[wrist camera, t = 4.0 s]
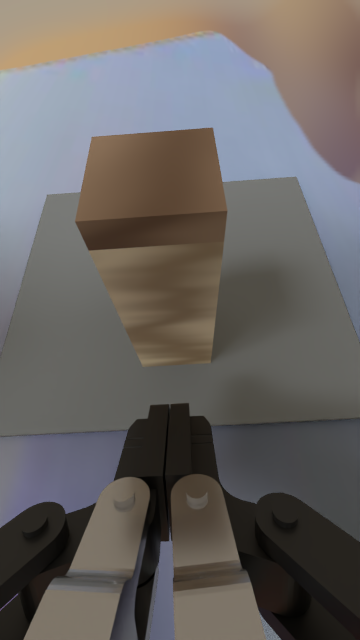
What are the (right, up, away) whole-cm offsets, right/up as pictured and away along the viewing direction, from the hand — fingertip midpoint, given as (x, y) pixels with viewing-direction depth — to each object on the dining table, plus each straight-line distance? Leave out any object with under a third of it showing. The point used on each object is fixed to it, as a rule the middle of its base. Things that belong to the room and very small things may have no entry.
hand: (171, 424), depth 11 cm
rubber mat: (0, +7, +11) cm, 13 cm away
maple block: (0, +3, +9) cm, 9 cm away
